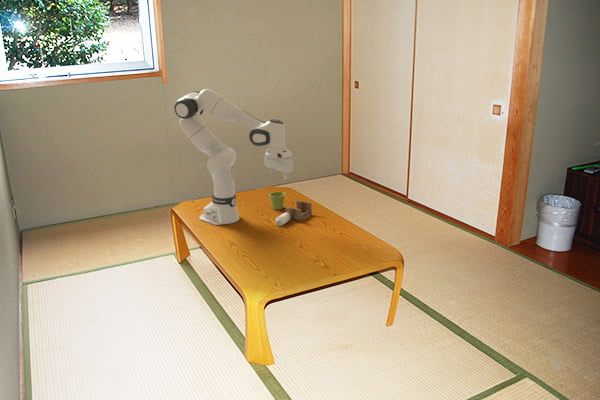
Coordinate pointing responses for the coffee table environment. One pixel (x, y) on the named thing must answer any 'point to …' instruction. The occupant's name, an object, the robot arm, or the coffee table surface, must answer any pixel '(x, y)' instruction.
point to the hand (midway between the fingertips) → (279, 177)
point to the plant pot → (277, 200)
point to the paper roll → (283, 219)
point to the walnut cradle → (300, 211)
